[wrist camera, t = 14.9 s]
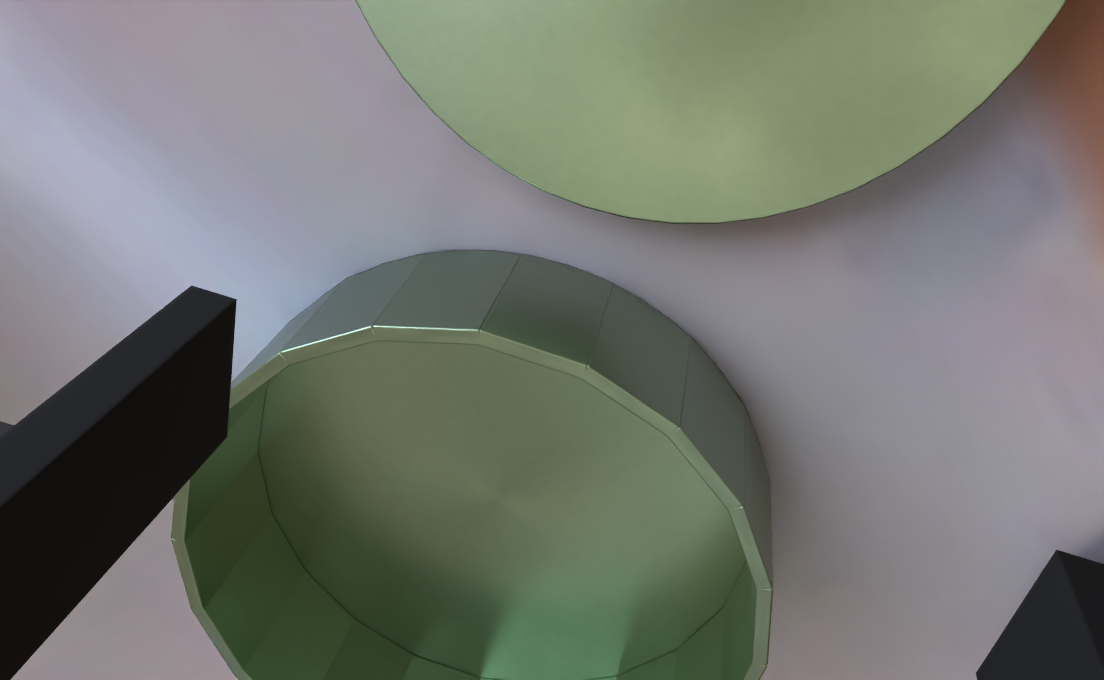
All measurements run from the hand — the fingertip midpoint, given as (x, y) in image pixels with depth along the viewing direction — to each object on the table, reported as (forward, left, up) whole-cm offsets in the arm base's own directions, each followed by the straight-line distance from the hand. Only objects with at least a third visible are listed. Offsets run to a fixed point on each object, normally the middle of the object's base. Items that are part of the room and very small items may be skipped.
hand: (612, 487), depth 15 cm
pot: (+2, +14, -16) cm, 21 cm away
